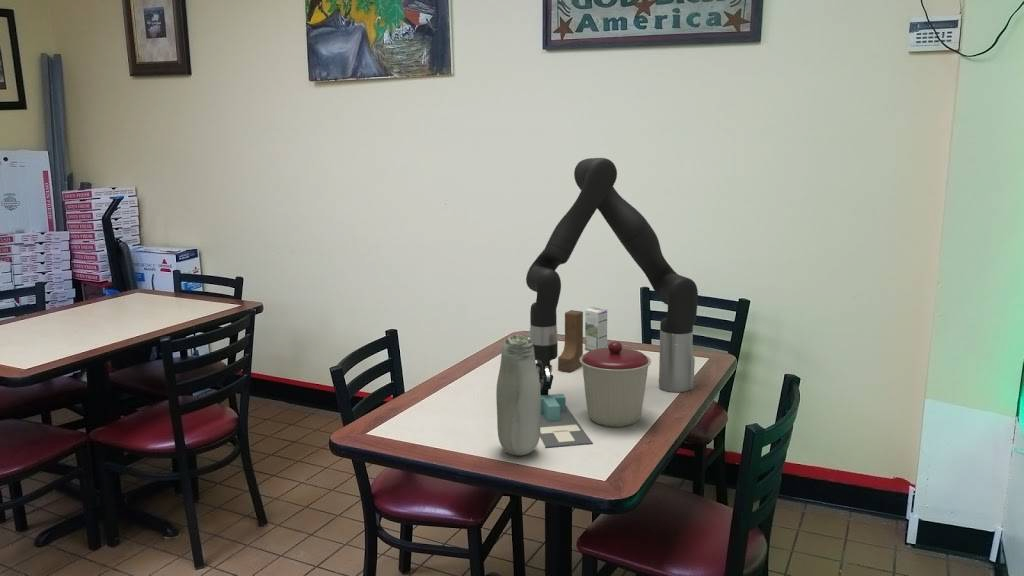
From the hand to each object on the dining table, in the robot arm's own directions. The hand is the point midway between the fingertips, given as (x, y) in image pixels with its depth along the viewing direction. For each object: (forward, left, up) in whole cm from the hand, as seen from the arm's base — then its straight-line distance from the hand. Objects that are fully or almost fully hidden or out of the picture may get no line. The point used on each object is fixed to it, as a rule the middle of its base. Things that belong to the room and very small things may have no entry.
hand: (543, 401), depth 204 cm
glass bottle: (+12, +28, -2) cm, 31 cm away
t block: (0, +7, -1) cm, 8 cm away
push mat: (0, +13, -1) cm, 14 cm away
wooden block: (-16, -33, -2) cm, 36 cm away
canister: (-16, +14, -2) cm, 21 cm away
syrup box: (-30, -52, -2) cm, 60 cm away
